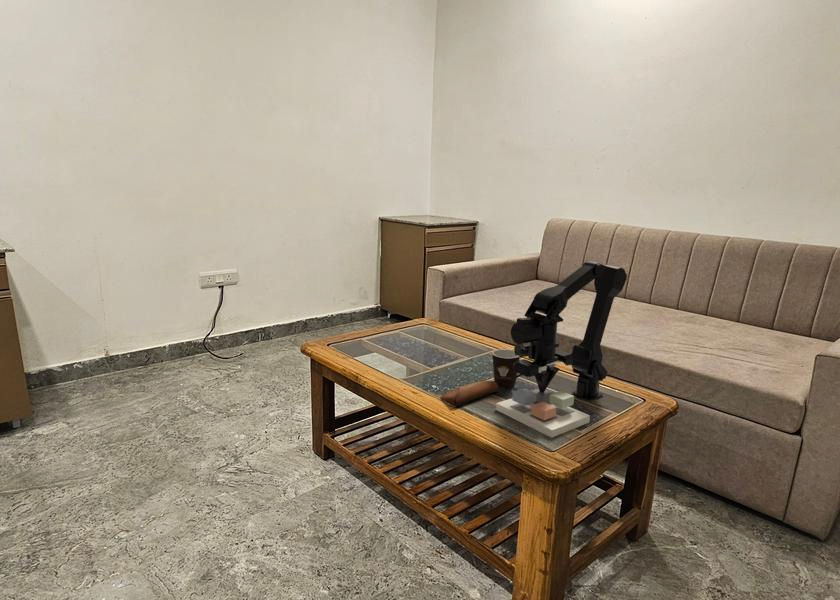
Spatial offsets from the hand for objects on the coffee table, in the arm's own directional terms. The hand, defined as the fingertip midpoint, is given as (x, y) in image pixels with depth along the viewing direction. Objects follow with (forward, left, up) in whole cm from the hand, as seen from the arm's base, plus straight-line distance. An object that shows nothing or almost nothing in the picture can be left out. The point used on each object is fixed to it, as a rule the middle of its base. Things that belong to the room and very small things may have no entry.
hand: (541, 391), depth 154 cm
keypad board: (+4, +3, -5) cm, 7 cm away
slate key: (+7, 0, -1) cm, 7 cm away
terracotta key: (+7, +7, -3) cm, 10 cm away
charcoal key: (0, 0, -3) cm, 3 cm away
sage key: (0, +7, -1) cm, 7 cm away
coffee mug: (-5, -18, -5) cm, 19 cm away
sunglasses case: (+11, -18, -6) cm, 22 cm away
